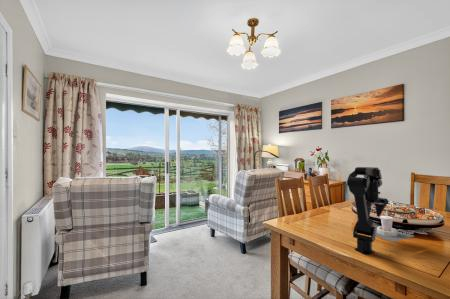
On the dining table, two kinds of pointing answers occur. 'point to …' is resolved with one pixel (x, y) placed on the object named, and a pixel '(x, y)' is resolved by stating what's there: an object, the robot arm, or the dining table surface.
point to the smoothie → (386, 222)
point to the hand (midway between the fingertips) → (372, 217)
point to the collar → (386, 233)
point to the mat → (393, 239)
